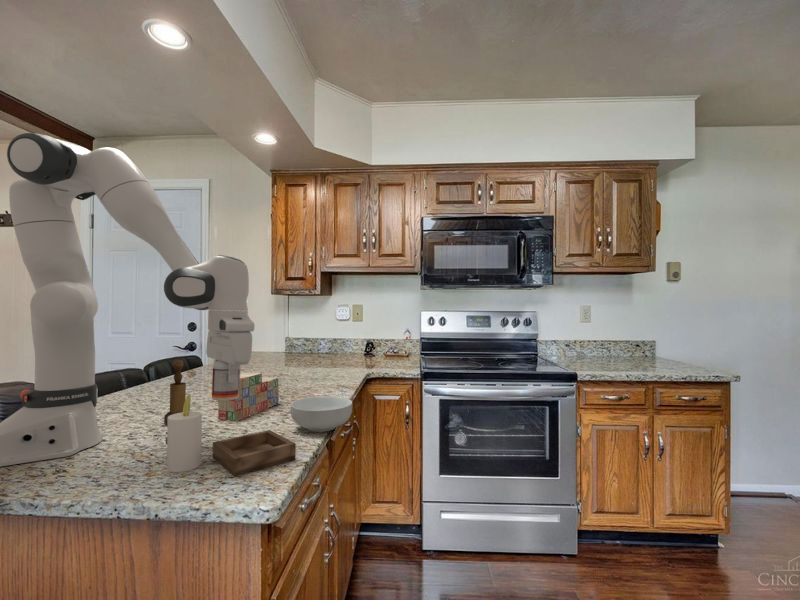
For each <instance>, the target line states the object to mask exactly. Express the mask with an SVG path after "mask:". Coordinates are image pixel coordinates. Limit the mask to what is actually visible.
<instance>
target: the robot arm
mask: <svg viewBox="0 0 800 600" xmlns="http://www.w3.org/2000/svg"><path fill="white" fill-rule="evenodd" d="M6 158H7V162H8V164H9V166H10V168H11V170H12V171H13V172H14V173H15V174H16V175H18V176H20V177H21V178H19V179H17V180H14V181H13V182H12V183H11V185H10V187H9V193H8V194H9V210H10V216H11V220H12V224H13V229H14V233H15V235H16V239H17V243H18V247H19V250H20V251H19V252H20V254H21V258H22V262H23V264H24V266H25V268H26V270H27V272H28V275H29V276H30V279H31V282H32V284H33V286H34V290H35V293H33V295H32V297H31V300H30V304H29V305H30V306H29V307H30V322H31V324H30V325H31V333H32V342H33V348H34V388H33V389H31V390H30V389H24V390H22V391H21V392H20V395H19V398H20V399H21V404H22V405H21V406H22V407H21V408H19V409H18V410H16V411H15V412H14V413H13V414H11V415H9V416H8V417H6V418H5V419H4V420H2V421H1V422H0V467H5V466H11V465H17V464H24V463H25V464H27V463H33V462H38V461H44V460H46V461H47V460H52V459H53V460H54V459H58V458H65V457H70V456H72V455H75V454H77V453H79V452H80V451H83V450H86V449H87V448H92V447H93V446H96V445H98V444H100V443H101V442H102V441H103V437H102V434H101V431H100V428H99V424H98V417H97V411H96V407H97V404H98V396H99V395H98V393H99V392H98V385H97V383H96V380H95V379H96V378H95V377H96V346H95V325H94V322H95V321H94V317H95V316H96V314H97V313H98V309H99V303H98V299H97V295H96V291H95V288H94V285H93V281H92V278H91V274H90V271H89V269H88V265H87V261H86V258H85V255H84V251H83V249H82V243H81V239H80V237H79V233H78V228H77V225H76V221H75V218H74V215H73V209H72V203H73V201H74V200H75V199H77V200H80V201H85V200H88V199H89V198H91V197H93V196H96V197H97V198H98V200H99V201H100V203H101V204H102V206H103V208H104V210H106V212H107V213H108V214H109V216H110V217H111V218H112V219H113V220H114V221H115V222H116V223H117V224H118V225H119V226H121V228H123V229H125V230H126V231H127V232H128V233H131V234H132V235H134V236H135V237H138V238H140V239H141V240H142V241H144V242H146V243H147V244H149V245H150V246H151V247H152V248H153V249H155V250H156V252H157V253H158V254H159V255H160V256H161V257H162V258H163V260H164V261H165V263H166V264H167V265H168V267H169V268H170V269H171V272H169V274H168V275H167V276H166V277H165V280H164V282H163V293H164V295H165V297H166V298H167V300H168V301H169V302H170V303H172V304H173V305H175V306H177V307H179V308H184V309H186V308H187V309H194V310H197V311H207V310H208V312H207V313H208V316H207V317H208V318H207V320H208V321H207V330H208V333H207V337H206V339H207V340H206V350H205V352H206V356H207V358H210V359H213V362H214V363H216V362H217V361H218V360H216V359H215V358H216V352H220V353H222V357H221V359H222V360H221V361H223V362H226V363H228V368H229V372H228V374H227V381H228V382H230V383H231V382H236V380H237V373H238V370H239V367H240V368H241V366H243V365H248V364H249V363H250V360H251V358H252V350H253V349H252V347H253V333H252V332H254V331H255V322H254V321H253V320H252V319H251V318H250V317H249V314H248V313H249V309H248V303H247V302H248V301H247V300H248V297H249V291H250V286H249V285H250V281H249V268H248V266H247V264H246V263H245V262H244V261H242V260H241V259H239V258H235V257H233V256H228V255H223V254H218V255H214V256H213V257H211V258H210V259H208V260H205V261H204V262H201V263H200V262H199V261H198V260H197V259H196V257H195V256H194V255H193V253H192V251H190V249H189V247H188V246H187V245H186V243H185V242H184V241H183V239H182V238H181V236H180V235H179V233H178V230H176V229H175V228H176V227H175V226H174V224H173V222H172V220H171V219H170V217H169V215H168V212H167V211H166V209H165V207H164V205H163V204H162V201H161V200H160V198H159V195H158V194H157V193H156V191H155V189H154V188H153V186H152V184H151V183H150V182H149V180H148V179H147V178H146V176H145V175H144V173H143V172H142V171H141V169H139V167H138V166H137V165H136V164H135V162H133V161H132V160H131V158H129V156H127V155H126V154H125V152H123V151H121V150H119V149H117V148H114V147H110V146H109V147H99V148H96V149H93V150H89V149H88V148H86V147H84V146H81V145H78V144H77V143H74V142H71V141H65V140H62V139H58V138H54V137H52V136H49V135H47V134H42V133H37V132H36V133H35V132H33V133H32V132H27V133H26V132H25V133H21V134H18V135H17V136H15V137H14V138H12V139H11V141H10V142H9V144H8V145H7V149H6ZM214 363H213V364H214Z"/></svg>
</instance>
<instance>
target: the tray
mask: <svg viewBox="0 0 800 600" xmlns="http://www.w3.org/2000/svg"><path fill="white" fill-rule="evenodd" d="M296 445H297V444H296V442H293V441H291V440H289V439H288V438H285V437H284V436H282V435H280V434H278V433H277V432H274V431H272V430H271V429H267V430H264V431H259V432H255V433H250V434H245V435H241V436H235V437H230V438H226V439H222V440H217V441H214V442H212V460H213V461H215V462H216V463H217V464H219V465H220V466H221V467H222V468H223V469H225V471H227V472H228V473H229V474H230V475H232V476H233V477H234V478H236V477H239V476H243V475H246V474H249V473H253V472H256V471H260V470H263V469H264V468H265V469H267V468H271V466H272V467H275V466H278V465H282V464H285V463H289V462H292V461H295V460H296V450H297V449H296V447H297V446H296ZM265 469H264V470H265Z"/></svg>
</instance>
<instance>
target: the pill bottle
mask: <svg viewBox="0 0 800 600" xmlns="http://www.w3.org/2000/svg"><path fill="white" fill-rule="evenodd" d="M221 357H222V353H220V352H216V358H215V359H216V360H218V361H217V362H216V363H213V365H212V380H211V381H212V382H211V384H212V385H211V399H212V401H213V400H214V401H229V400H234V399H237V398H238V397H239V387H240V374H241V366H240V367H239V370H238V373H237V380H236V382H231V383H230V382H228V381H227V374H228V372H229V368H228V363H226V362H223V361H221V360H222V359H221Z"/></svg>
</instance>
